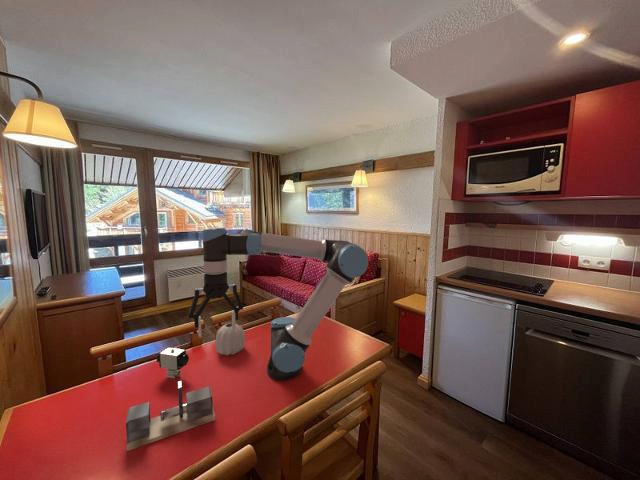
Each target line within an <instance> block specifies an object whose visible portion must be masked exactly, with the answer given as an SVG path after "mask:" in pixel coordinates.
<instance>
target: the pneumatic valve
mask: <svg viewBox="0 0 640 480" xmlns="http://www.w3.org/2000/svg"><path fill="white" fill-rule="evenodd" d="M189 360H190V357H189V354H188V353H187V350H186V349H181V348H178V347H174V348H173V347H166V348H165V349H163V350H162V351H160V352H158V353H157V356H156V362H157V363H159V368H160V369H161V368H162V369H166V372H165V374H166V378H169V379H174V380H175V379H177V377H179V376H180V375H181V373H182V370H181V369H182V368H184V367H185V366H187V365H188V362H189Z"/></svg>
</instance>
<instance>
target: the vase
mask: <svg viewBox="0 0 640 480" xmlns="http://www.w3.org/2000/svg"><path fill="white" fill-rule="evenodd" d="M245 343H246V336H245V331H244V329H243V327H242V326H241V325H239V324H237V323H236V330H233V328H232V322H229V323H226V324H224V325H222V326H221V327H220V328H219V329H218V330H217V332H216V335H215V349H216V352H217V353H219V355H222V356H224V355H225V356H230V355H233V356H234V355H235V354H236V353H237V354H238V353H241V351H242V350H243V348H244V347H245Z"/></svg>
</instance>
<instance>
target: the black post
mask: <svg viewBox="0 0 640 480" xmlns="http://www.w3.org/2000/svg"><path fill="white" fill-rule="evenodd" d="M177 392H178V393H177V394H178V405H177V406H174V407H170V408H167V409H164V410H161V411H160V414H159V416H161V421H164V420H167V419H170V418H173V417H176V416H179V415H180V419H181V418H183V414H185V413H188V412H187V402H186V403H184V402H183V386H182V380H179V381H177ZM183 403H184V404H183Z"/></svg>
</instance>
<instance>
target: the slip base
mask: <svg viewBox="0 0 640 480" xmlns="http://www.w3.org/2000/svg"><path fill="white" fill-rule="evenodd" d="M185 397H186V400H185V401H186V403H187V412H188V413H185V414H183V418H181V419H180V415H179V416H176V417H173V418H170V419H167V420H164V421H161V416H160V415H158V416H154V417H152V418H151V409H150V408H151V406H150V401H148V402H147V401H146V402H145V403H140V404H137V405H134V406H130V408H128V410H127V414H126V418H125V419H126V420H125V430H126V431H125V433H126V452H129V451H131V450H134V449H137V448H140V447H142V446H145V445H148V444H152V443H154V442H157V441H159V440H162V439H165V438H168V437H171V436H174V435H176V434H179V433H182V432H185V431H189V430H191V429H193V428H197V427H199V426H202V425H204V424H208V423H210V422H213V421H216V413H215V410H214V406H213V394H212V389H211V386H210V385H209V386H206V387H202V388H199V389H195V390H193V391H188V392H186V394H185Z"/></svg>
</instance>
